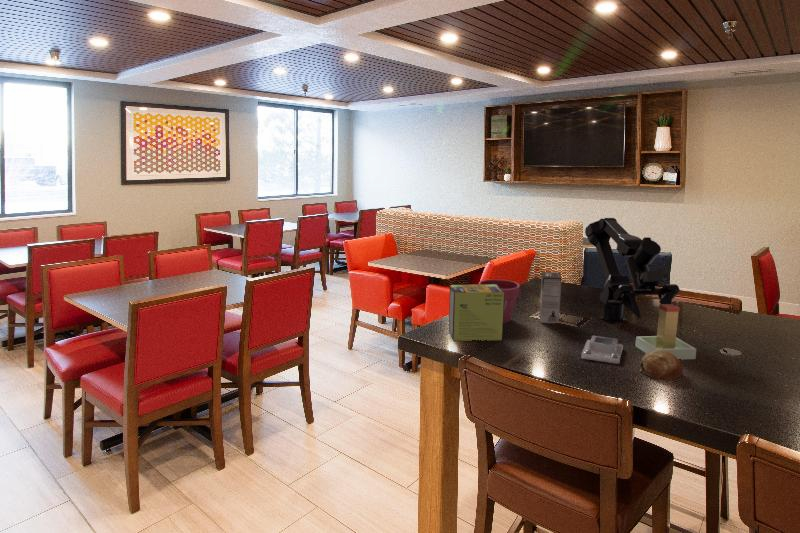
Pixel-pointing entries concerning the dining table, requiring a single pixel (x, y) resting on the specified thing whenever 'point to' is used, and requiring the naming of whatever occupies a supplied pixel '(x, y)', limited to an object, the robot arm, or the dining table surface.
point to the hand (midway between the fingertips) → (654, 317)
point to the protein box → (476, 312)
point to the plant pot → (506, 295)
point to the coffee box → (550, 297)
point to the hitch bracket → (602, 350)
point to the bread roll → (661, 365)
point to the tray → (680, 350)
